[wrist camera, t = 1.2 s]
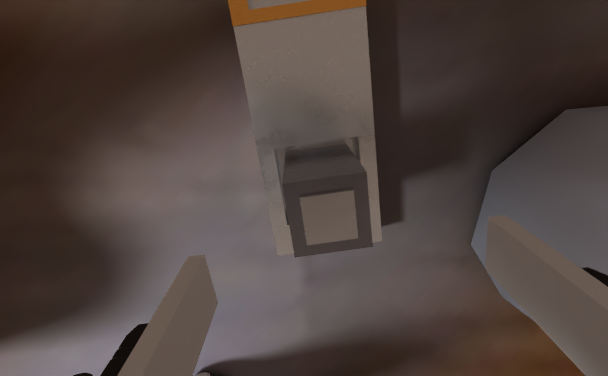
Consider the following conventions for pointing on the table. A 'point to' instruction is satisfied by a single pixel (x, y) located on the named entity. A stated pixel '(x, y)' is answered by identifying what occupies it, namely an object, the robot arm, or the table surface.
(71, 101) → the table surface
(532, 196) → the bottle
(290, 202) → the grey tall square block
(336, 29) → the rail
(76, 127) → the table surface
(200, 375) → the water bottle
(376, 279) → the table surface
